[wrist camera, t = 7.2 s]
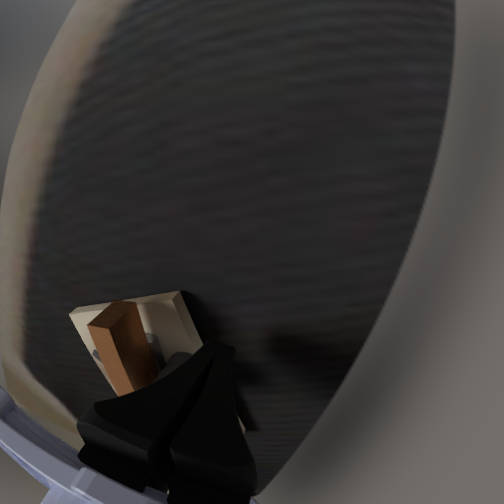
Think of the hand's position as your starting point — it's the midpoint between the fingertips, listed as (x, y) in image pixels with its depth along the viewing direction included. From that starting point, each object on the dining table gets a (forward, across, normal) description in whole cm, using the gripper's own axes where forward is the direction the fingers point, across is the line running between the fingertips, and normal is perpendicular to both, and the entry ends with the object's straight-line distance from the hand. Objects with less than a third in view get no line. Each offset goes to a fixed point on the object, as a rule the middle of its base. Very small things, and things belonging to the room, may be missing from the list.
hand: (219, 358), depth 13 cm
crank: (+1, +4, +4) cm, 6 cm away
